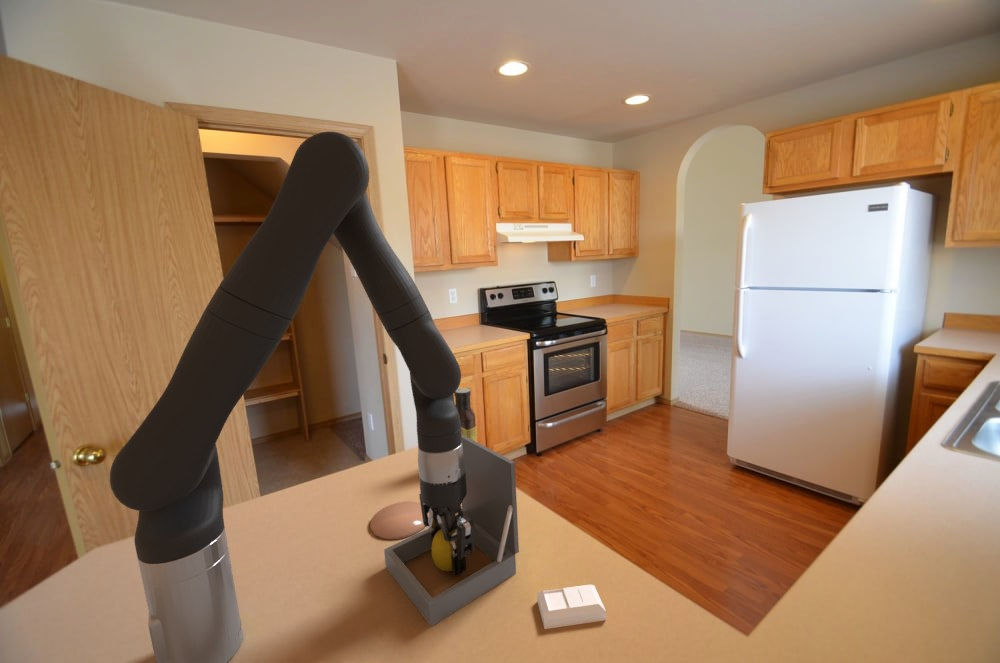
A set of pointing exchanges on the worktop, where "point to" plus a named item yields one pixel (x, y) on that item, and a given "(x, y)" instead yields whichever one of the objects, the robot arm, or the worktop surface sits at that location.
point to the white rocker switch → (570, 606)
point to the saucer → (398, 520)
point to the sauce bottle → (466, 413)
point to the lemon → (442, 551)
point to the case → (493, 534)
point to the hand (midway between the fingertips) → (449, 562)
